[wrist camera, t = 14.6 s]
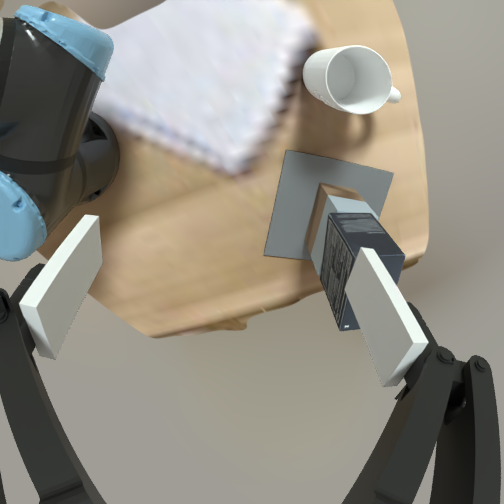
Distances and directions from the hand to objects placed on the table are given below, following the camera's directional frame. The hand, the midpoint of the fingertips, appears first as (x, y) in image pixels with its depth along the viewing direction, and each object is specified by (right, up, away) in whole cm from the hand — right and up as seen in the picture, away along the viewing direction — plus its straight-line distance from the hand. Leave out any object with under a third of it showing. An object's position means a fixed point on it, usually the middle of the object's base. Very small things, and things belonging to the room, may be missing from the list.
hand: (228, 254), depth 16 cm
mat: (+13, +6, +36) cm, 38 cm away
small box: (+14, +1, +27) cm, 30 cm away
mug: (+14, +24, +24) cm, 37 cm away
